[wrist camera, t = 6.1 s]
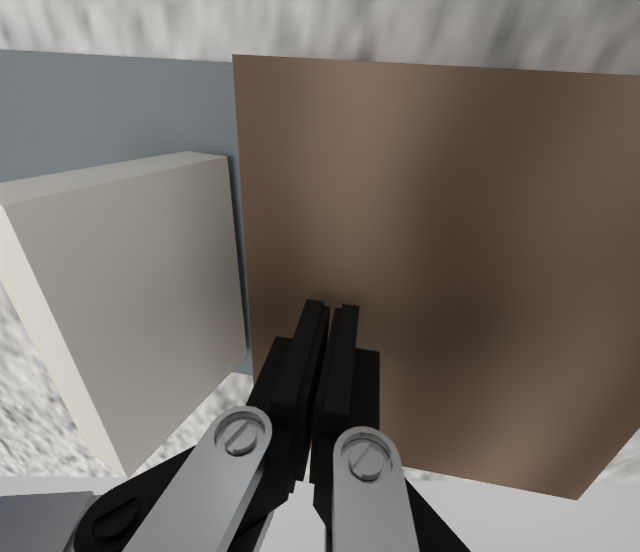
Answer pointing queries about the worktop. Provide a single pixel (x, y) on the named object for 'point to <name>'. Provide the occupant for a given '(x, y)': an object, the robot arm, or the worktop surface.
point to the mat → (118, 121)
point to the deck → (456, 251)
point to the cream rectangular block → (127, 292)
